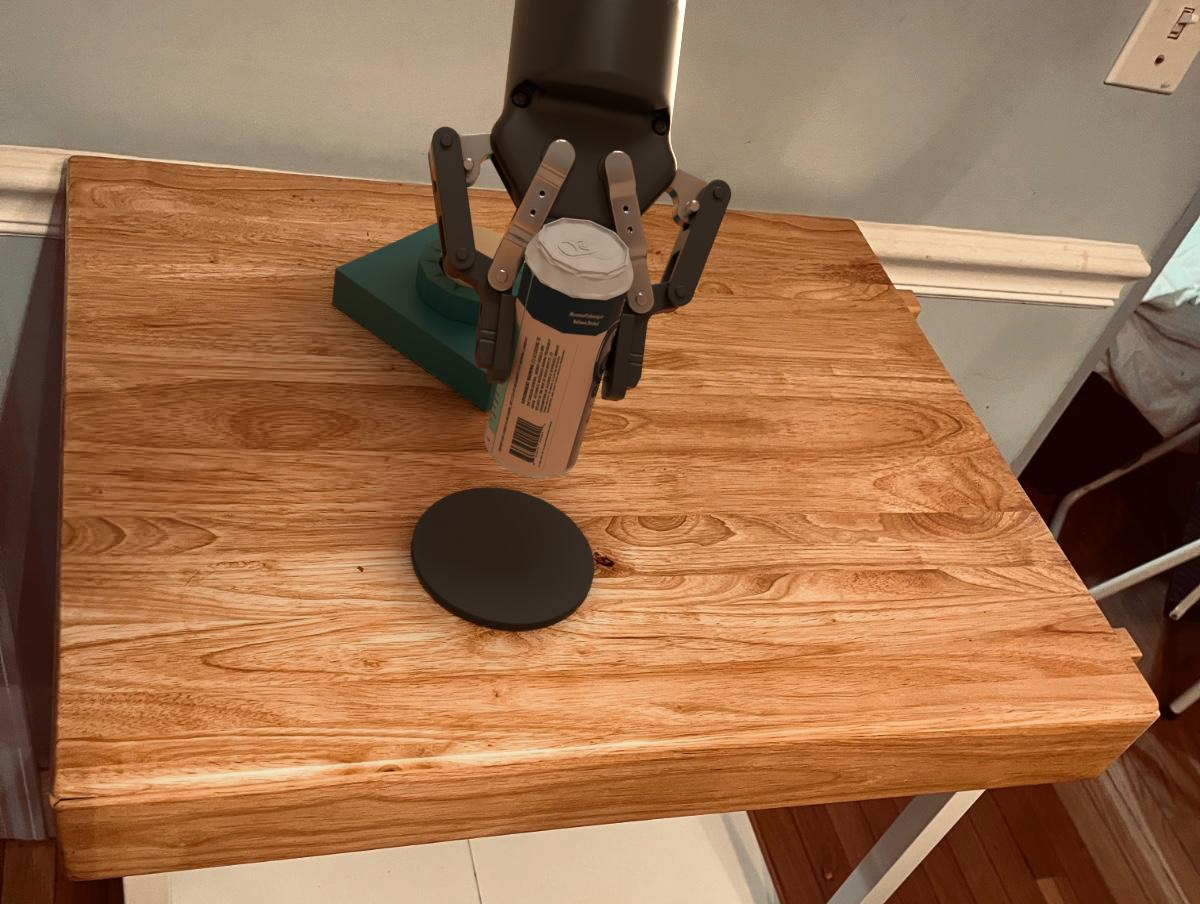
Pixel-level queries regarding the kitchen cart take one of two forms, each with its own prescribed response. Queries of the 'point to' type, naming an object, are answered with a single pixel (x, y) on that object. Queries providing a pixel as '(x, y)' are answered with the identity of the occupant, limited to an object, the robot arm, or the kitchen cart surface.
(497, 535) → the coaster
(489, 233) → the button
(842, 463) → the kitchen cart surface
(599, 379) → the beer can
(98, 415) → the kitchen cart surface
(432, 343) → the push button base
